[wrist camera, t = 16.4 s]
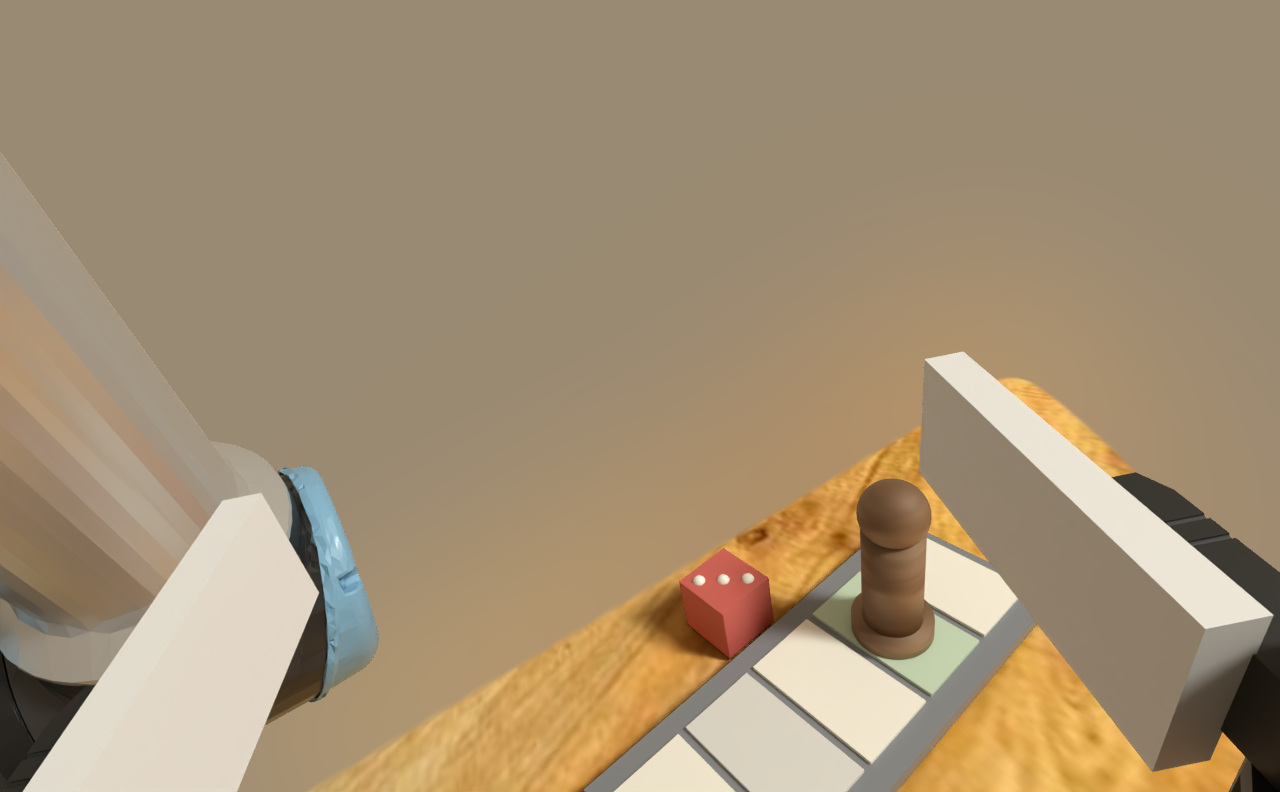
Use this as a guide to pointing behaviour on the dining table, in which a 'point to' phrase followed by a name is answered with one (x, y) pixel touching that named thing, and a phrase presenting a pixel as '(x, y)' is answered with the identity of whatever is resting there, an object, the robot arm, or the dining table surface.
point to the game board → (833, 693)
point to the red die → (727, 602)
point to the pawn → (893, 571)
